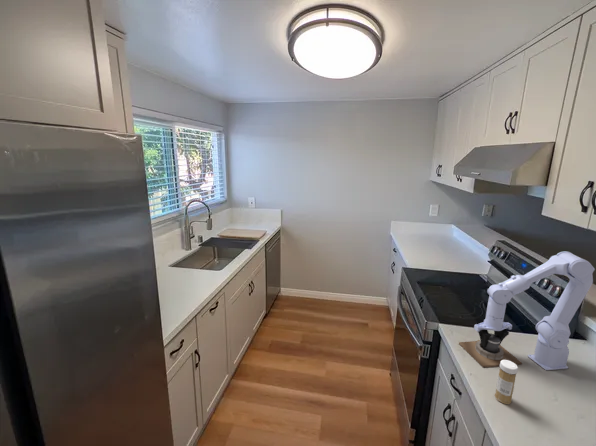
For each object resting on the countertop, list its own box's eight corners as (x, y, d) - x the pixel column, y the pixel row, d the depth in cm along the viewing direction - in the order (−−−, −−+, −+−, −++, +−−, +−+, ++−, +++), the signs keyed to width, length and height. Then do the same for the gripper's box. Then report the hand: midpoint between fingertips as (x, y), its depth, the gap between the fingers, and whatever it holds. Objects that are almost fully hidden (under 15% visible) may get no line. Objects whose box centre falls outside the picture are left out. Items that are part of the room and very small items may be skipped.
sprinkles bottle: (513, 400, 92) (520, 365, 89) (507, 407, 90) (514, 371, 87) (497, 391, 96) (504, 357, 93) (491, 397, 93) (497, 362, 90)
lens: (490, 345, 116) (493, 332, 115) (500, 353, 111) (503, 341, 110) (479, 345, 116) (482, 333, 114) (488, 355, 111) (491, 342, 109)
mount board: (493, 341, 122) (494, 335, 121) (521, 364, 108) (522, 358, 108) (458, 343, 120) (459, 338, 120) (482, 367, 107) (483, 361, 106)
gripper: (503, 308, 115) (498, 337, 118) (470, 310, 114) (466, 340, 117) (518, 318, 108) (512, 348, 111) (483, 320, 107) (478, 351, 110)
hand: (489, 345), depth 113 cm, fingers closed on lens, 5 cm apart
